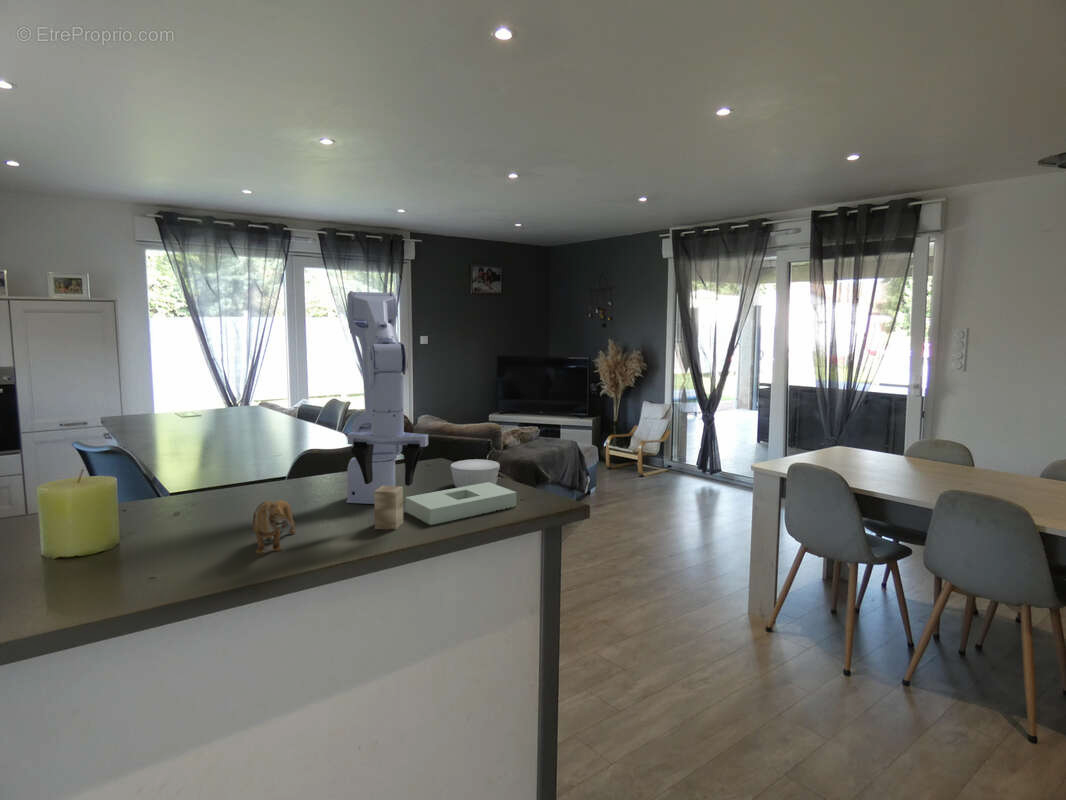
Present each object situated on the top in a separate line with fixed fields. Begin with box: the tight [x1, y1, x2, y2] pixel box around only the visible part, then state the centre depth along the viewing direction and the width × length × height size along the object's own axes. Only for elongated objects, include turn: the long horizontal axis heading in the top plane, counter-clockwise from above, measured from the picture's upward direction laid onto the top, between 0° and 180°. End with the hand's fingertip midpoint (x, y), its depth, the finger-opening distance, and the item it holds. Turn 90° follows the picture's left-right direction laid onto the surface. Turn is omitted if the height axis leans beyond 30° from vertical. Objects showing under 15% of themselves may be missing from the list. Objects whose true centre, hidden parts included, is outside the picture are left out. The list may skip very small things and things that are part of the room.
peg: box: [374, 485, 404, 531], centre depth 115 cm, size 4×4×7 cm
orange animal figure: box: [251, 499, 296, 554], centre depth 104 cm, size 15×5×9 cm, turn 14°
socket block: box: [404, 482, 518, 526], centre depth 126 cm, size 20×10×3 cm, turn 129°
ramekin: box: [450, 458, 501, 488], centre depth 143 cm, size 11×11×5 cm
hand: (388, 483), depth 114 cm, fingers open, 7 cm apart
